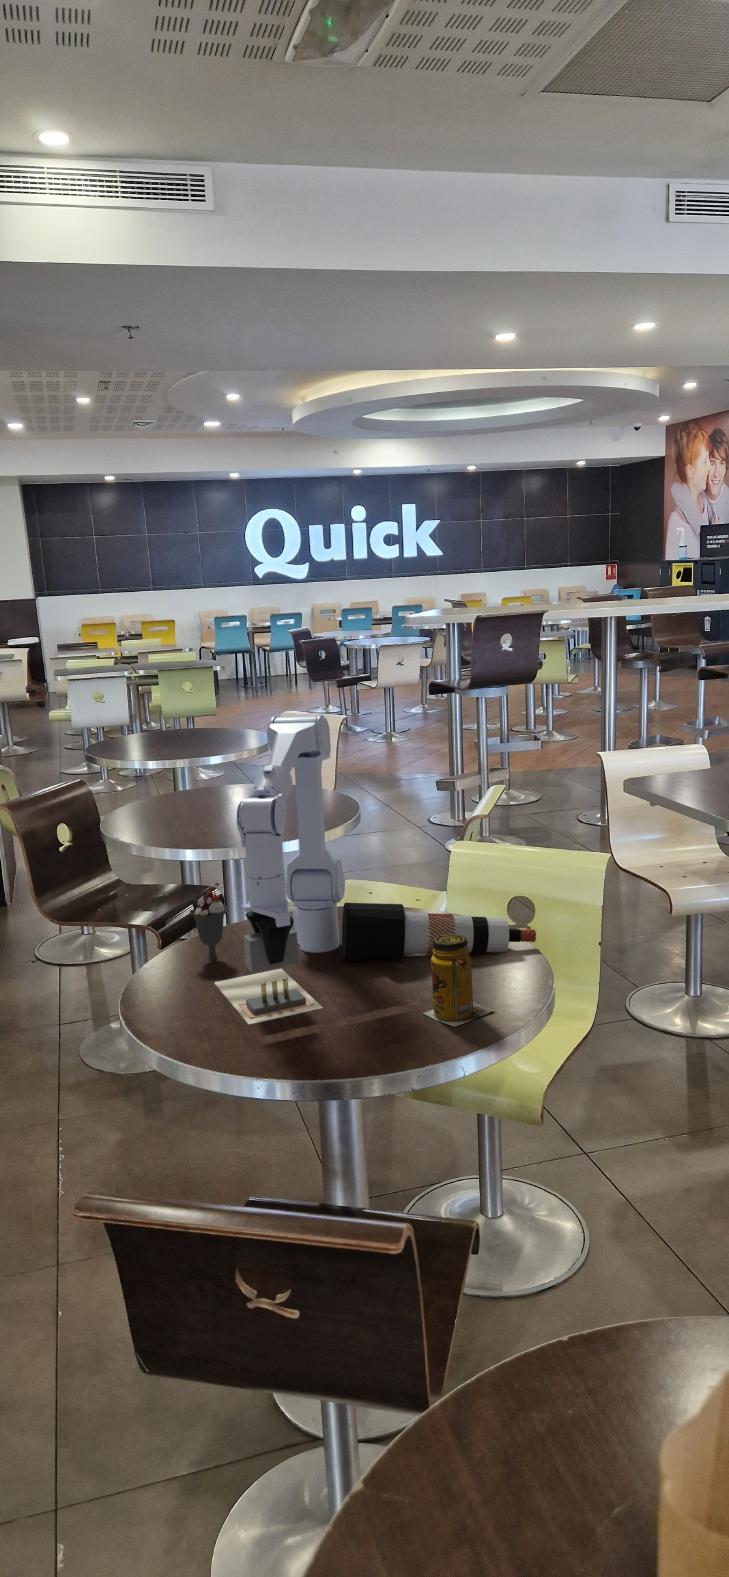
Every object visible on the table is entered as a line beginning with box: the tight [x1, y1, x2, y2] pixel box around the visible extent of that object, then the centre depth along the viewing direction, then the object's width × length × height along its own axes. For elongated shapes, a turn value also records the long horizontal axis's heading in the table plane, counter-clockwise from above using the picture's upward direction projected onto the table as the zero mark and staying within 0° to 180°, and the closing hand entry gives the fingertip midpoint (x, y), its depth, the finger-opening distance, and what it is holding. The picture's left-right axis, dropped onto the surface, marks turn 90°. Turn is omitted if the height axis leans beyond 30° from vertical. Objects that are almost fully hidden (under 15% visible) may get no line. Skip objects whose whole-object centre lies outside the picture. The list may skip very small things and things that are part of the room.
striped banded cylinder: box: [341, 902, 537, 963], centre depth 178 cm, size 10×34×10 cm, turn 92°
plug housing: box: [243, 927, 300, 973], centre depth 157 cm, size 3×8×5 cm, turn 114°
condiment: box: [422, 935, 495, 1027], centre depth 153 cm, size 7×8×12 cm
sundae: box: [189, 882, 228, 962], centre depth 180 cm, size 7×7×15 cm
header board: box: [213, 968, 324, 1025], centre depth 163 cm, size 20×12×5 cm, turn 24°
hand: (272, 958), depth 157 cm, fingers closed on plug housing, 3 cm apart
